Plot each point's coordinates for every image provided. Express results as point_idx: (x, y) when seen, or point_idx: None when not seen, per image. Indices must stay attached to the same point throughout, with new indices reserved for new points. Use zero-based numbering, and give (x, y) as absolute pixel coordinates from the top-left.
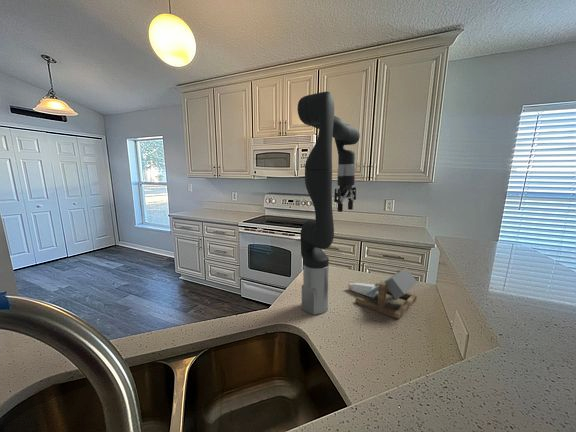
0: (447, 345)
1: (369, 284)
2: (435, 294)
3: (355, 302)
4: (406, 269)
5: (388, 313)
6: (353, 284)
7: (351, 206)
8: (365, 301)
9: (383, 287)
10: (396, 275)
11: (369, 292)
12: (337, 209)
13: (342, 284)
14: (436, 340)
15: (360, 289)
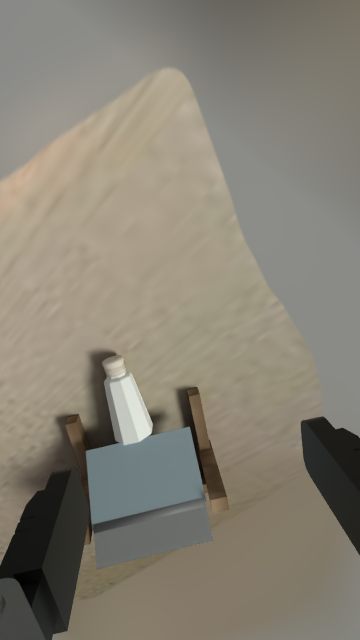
0: (102, 583)
1: (133, 428)
2: (283, 485)
3: (68, 417)
4: (208, 540)
5: None
6: (115, 376)
7: (324, 491)
8: (74, 450)
9: None
10: (129, 560)
11: (87, 463)
12: (27, 503)
13: (121, 315)
14: (99, 570)
15: (109, 408)
